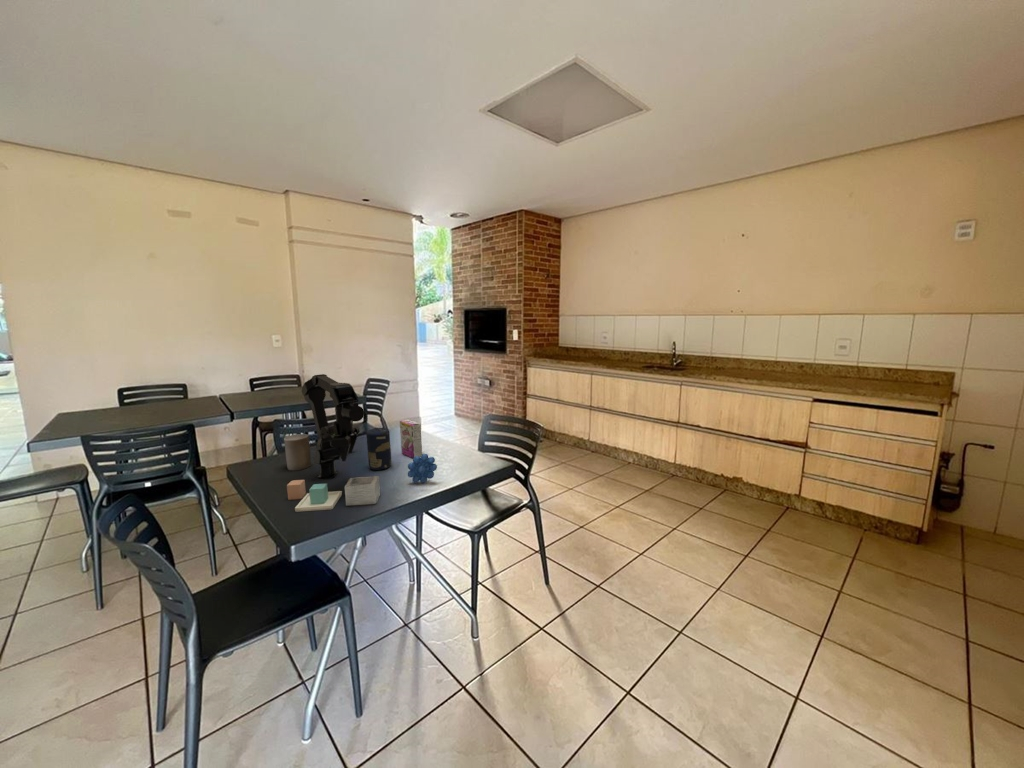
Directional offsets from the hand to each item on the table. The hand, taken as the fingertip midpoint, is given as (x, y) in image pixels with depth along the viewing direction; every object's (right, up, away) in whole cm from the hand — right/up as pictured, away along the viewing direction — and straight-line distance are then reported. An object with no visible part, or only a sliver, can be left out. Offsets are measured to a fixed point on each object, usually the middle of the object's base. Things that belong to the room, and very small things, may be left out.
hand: (347, 457), depth 156 cm
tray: (-5, -14, -12) cm, 19 cm away
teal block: (-5, -14, -12) cm, 19 cm away
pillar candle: (-31, -9, +25) cm, 41 cm away
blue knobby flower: (+28, -11, +6) cm, 31 cm away
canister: (+5, -9, +23) cm, 25 cm away
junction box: (+10, -14, -10) cm, 19 cm away
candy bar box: (+15, -6, +38) cm, 41 cm away
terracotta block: (-16, -13, -6) cm, 22 cm away
